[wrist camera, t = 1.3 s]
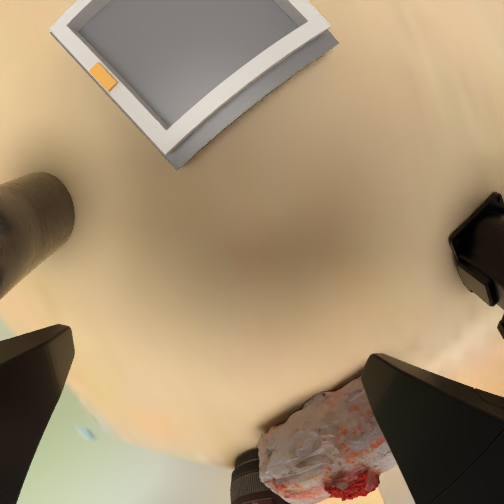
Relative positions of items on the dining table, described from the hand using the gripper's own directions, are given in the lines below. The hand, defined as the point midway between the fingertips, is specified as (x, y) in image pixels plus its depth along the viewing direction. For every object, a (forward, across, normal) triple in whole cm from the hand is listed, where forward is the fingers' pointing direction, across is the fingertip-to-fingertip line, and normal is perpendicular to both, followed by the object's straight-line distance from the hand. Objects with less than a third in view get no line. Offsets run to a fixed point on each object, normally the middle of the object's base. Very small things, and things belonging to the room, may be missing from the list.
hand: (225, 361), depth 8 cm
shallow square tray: (+12, -4, +12) cm, 17 cm away
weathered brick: (+12, +12, -16) cm, 23 cm away
